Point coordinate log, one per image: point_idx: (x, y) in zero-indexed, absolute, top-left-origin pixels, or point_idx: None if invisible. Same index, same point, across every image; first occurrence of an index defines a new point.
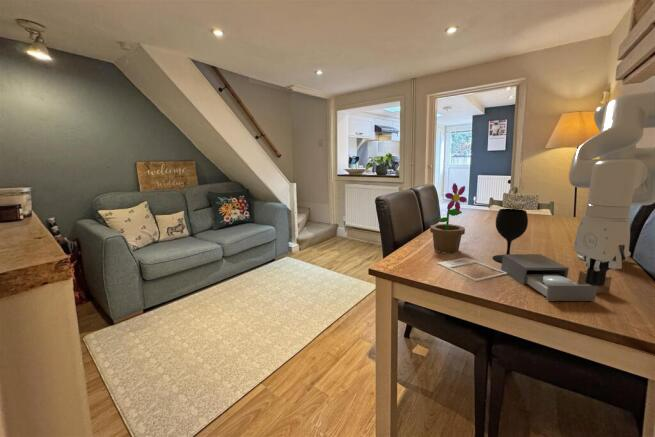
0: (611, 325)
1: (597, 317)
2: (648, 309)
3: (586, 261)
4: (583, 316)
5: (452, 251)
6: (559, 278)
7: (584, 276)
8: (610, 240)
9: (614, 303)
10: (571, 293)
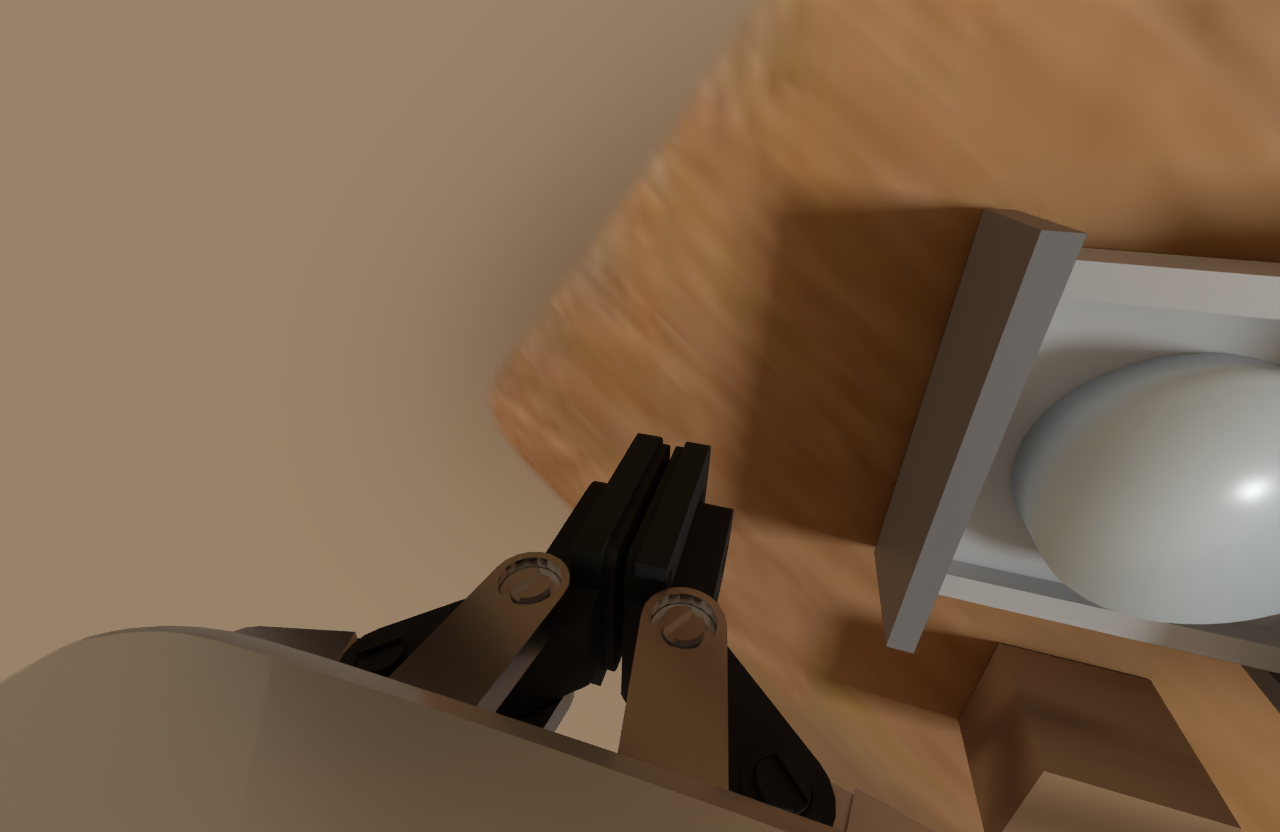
0: (596, 370)
1: (683, 377)
2: None
3: (714, 685)
4: (701, 299)
5: None
6: (1225, 556)
7: (1141, 768)
8: None
9: (828, 621)
10: (935, 432)
